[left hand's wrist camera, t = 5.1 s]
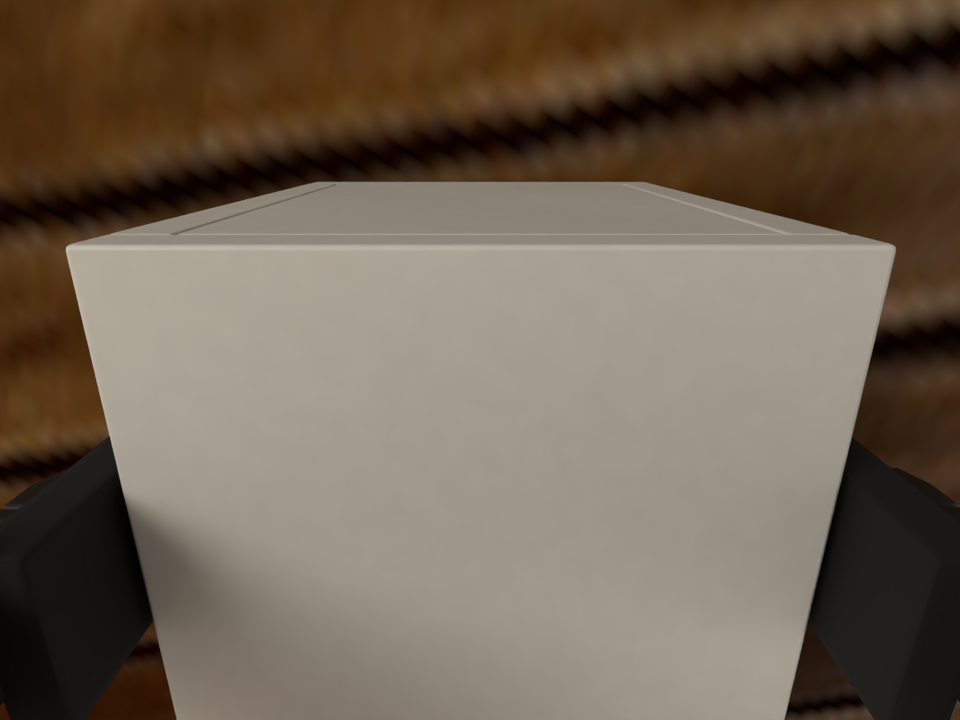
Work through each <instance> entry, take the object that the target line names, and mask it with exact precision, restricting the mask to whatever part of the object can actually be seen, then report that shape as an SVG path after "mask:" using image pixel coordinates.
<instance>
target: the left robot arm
mask: <svg viewBox="0 0 960 720" xmlns="http://www.w3.org/2000/svg"><path fill="white" fill-rule="evenodd" d="M152 621H153V616H152V612H151V608H150V604H149V599H148V595H147V591H146V587H145V582H144V578H143V574H142V570H141V566H140V561H139V557H138V553H137V549H136V544H135V540H134V536H133V532H132V528H131V523H130V519H129V515H128V511H127V507H126V502H125V498H124V494H123V490H122V485H121V481H120V477H119V473H118V469H117V464H116V460H115V456H114V452H113V447H112V443H111V439H110V436H109V437H108V438H107V439H105V440H104V441H103V442H102V443H100V444H99V445H98V446H97V447H95V448H94V449H93V450H92V451H90V452H89V453H88V454H87V455H85V456H84V457H83V458H82V459H80V460H79V461H78V462H76V463H75V464H74V465H73V466H71V467H70V468H69V469H68V470H63V471H60V472H58V473H56V474H54V475H52V476H50V477H48V478H46V479H44V480H42V481H40V482H38V483H36V484H34V485H32V486H30V487H28V488H27V489H26V490H25V491H23V492H22V493H21V494H19V495H18V496H17V497H15V498H14V499H13V500H12V501H10V502H9V503H8V504H6V505H5V508H4V510H0V705H1V704H2V703H3V702H4V704H5V706H6V709H7V712H8V715H9V717H10V720H85V719H86V718H87V717H88V715H89V714H90V712H91V711H92V709H93V708H94V706H95V705H96V703H97V702H98V700H99V699H100V698H101V696H102V695H103V693H104V692H105V690H106V689H107V687H108V686H109V684H110V683H111V681H112V680H113V678H114V677H115V676H116V674H117V673H118V671H119V670H120V668H121V667H122V665H123V664H124V662H125V661H126V659H127V658H128V657H129V655H130V654H131V652H132V651H133V649H134V648H135V646H136V645H137V643H138V642H139V640H140V639H141V637H142V636H143V635H144V633H145V632H146V630H147V629H148V627H149V626H150V624H151V623H152ZM808 623H809V624H810V626H811V627H812V629H813V630H814V632H815V633H816V635H817V636H818V637H819V639H820V640H821V642H822V643H823V645H824V646H825V648H826V649H827V651H828V652H829V654H830V655H831V656H832V658H833V659H834V661H835V662H836V664H837V665H838V667H839V668H840V670H841V671H842V673H843V674H844V676H845V677H846V678H847V680H848V681H849V683H850V684H851V686H852V687H853V689H854V690H855V692H856V693H857V695H858V696H859V697H860V699H861V700H862V702H863V703H864V705H865V706H866V708H867V709H868V711H869V712H870V714H871V715H872V717H873V718H874V719H875V720H950V717H951V715H952V712H953V709H954V706H955V704H956V701H957V699H958V700H959V702H960V507H956V503H955V502H954V501H952V500H951V499H950V498H948V497H947V496H946V495H944V494H943V493H942V492H940V491H939V490H938V489H936V488H935V487H934V486H932V485H931V484H929V483H927V482H925V481H923V480H921V479H919V478H917V477H915V476H913V475H911V474H909V473H907V472H904V471H902V470H900V469H898V468H890V467H889V466H887V465H886V464H885V463H884V462H882V461H881V460H880V459H878V458H877V457H876V456H875V455H873V454H872V453H871V452H870V451H868V450H867V449H866V448H865V447H863V446H862V445H861V444H860V443H858V442H857V441H856V440H855V439H853V438H851V442H850V446H849V451H848V455H847V459H846V463H845V467H844V472H843V476H842V480H841V484H840V488H839V493H838V497H837V501H836V505H835V509H834V514H833V518H832V522H831V526H830V530H829V535H828V539H827V543H826V547H825V551H824V556H823V560H822V564H821V568H820V572H819V577H818V581H817V585H816V589H815V593H814V598H813V602H812V606H811V610H810V614H809V619H808Z"/></svg>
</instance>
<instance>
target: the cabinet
mask: <svg viewBox="0 0 960 720" xmlns="http://www.w3.org/2000/svg"><path fill="white" fill-rule="evenodd" d="M66 253H67V258H68V262H69V266H70V270H71V275H72V279H73V283H74V287H75V291H76V296H77V300H78V304H79V308H80V312H81V317H82V321H83V325H84V329H85V334H86V338H87V342H88V346H89V350H90V355H91V359H92V363H93V367H94V372H95V376H96V380H97V384H98V388H99V393H100V397H101V401H102V405H103V409H104V414H105V418H106V422H107V426H108V431H109V435H110V439H111V443H112V447H113V452H114V456H115V460H116V464H117V469H118V473H119V477H120V481H121V485H122V490H123V494H124V498H125V502H126V507H127V511H128V515H129V519H130V523H131V528H132V532H133V536H134V540H135V544H136V549H137V553H138V557H139V561H140V566H141V570H142V574H143V578H144V582H145V587H146V591H147V595H148V599H149V604H150V608H151V612H152V616H153V620H154V625H155V629H156V633H157V637H158V641H159V646H160V650H161V654H162V658H163V663H164V667H165V671H166V675H167V679H168V684H169V688H170V692H171V696H172V701H173V705H174V709H175V713H176V717H177V720H784V719H785V715H786V711H787V707H788V702H789V698H790V694H791V690H792V686H793V681H794V677H795V673H796V669H797V665H798V660H799V656H800V652H801V648H802V644H803V639H804V635H805V631H806V627H807V623H808V619H809V614H810V610H811V606H812V602H813V598H814V593H815V589H816V585H817V581H818V577H819V572H820V568H821V564H822V560H823V556H824V551H825V547H826V543H827V539H828V535H829V530H830V526H831V522H832V518H833V514H834V509H835V505H836V501H837V497H838V493H839V488H840V484H841V480H842V476H843V472H844V467H845V463H846V459H847V455H848V451H849V446H850V442H851V438H852V434H853V430H854V425H855V421H856V417H857V413H858V409H859V404H860V400H861V396H862V392H863V388H864V383H865V379H866V375H867V371H868V367H869V362H870V358H871V354H872V350H873V346H874V341H875V337H876V333H877V329H878V325H879V320H880V316H881V312H882V308H883V304H884V299H885V295H886V291H887V287H888V283H889V278H890V274H891V270H892V266H893V262H894V257H895V253H896V247H895V246H894V245H891V244H888V243H885V242H881V241H877V240H873V239H869V238H865V237H861V236H857V235H849V234H847V233H844V232H840V231H836V230H832V229H828V228H824V227H820V226H816V225H812V224H808V223H804V222H800V221H796V220H792V219H788V218H784V217H780V216H776V215H772V214H768V213H765V212H761V211H757V210H753V209H749V208H745V207H741V206H737V205H733V204H729V203H725V202H721V201H717V200H713V199H709V198H705V197H701V196H697V195H693V194H689V193H685V192H681V191H677V190H673V189H669V188H665V187H661V186H657V185H653V184H649V183H645V182H316V183H312V184H307V185H303V186H299V187H295V188H291V189H287V190H283V191H279V192H275V193H271V194H267V195H263V196H259V197H255V198H251V199H247V200H243V201H239V202H235V203H231V204H227V205H223V206H219V207H215V208H211V209H207V210H203V211H199V212H195V213H192V214H188V215H184V216H180V217H176V218H172V219H168V220H164V221H160V222H156V223H152V224H148V225H144V226H140V227H136V228H132V229H128V230H124V231H120V232H116V233H112V234H110V235H105V236H101V237H97V238H93V239H89V240H85V241H81V242H77V243H73V244H70V245H68V246H67V247H66Z"/></svg>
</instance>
